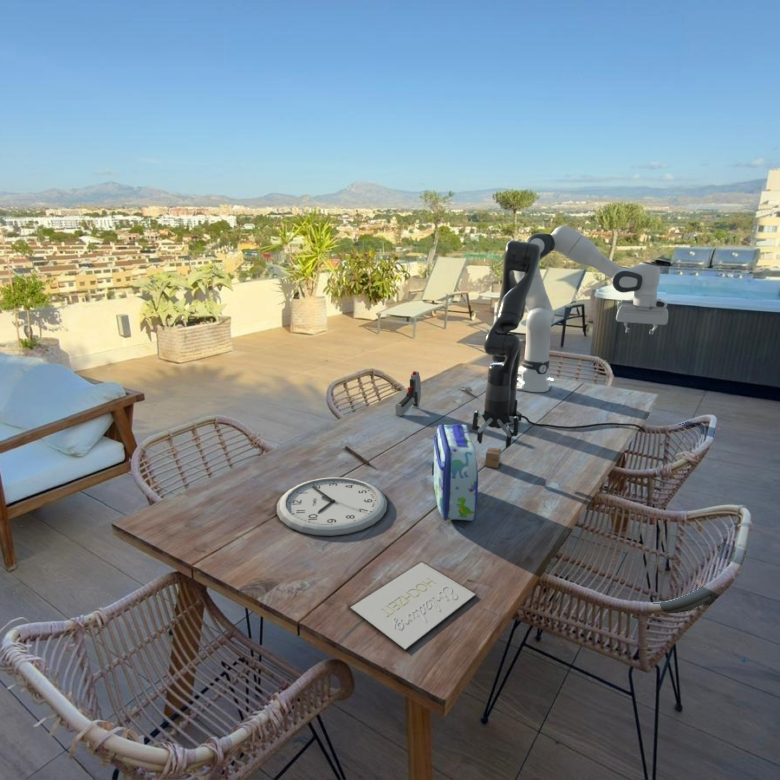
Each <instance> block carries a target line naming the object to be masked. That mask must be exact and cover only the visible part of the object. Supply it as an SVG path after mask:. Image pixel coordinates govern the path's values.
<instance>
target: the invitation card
mask: <svg viewBox="0 0 780 780" xmlns="http://www.w3.org/2000/svg"><path fill="white" fill-rule="evenodd" d="M475 596H476V593H474V591H471V590H469V589H468V588H466V587H464V586H463V585H461V584H459V583H458V582H456V581H454V580H453V579H451V578H449V577H448V576H446V575H444V574H442V573H441V572H439V571H438V570H436V569H434V568H432V567H430V566H429V565H427V564H426V563H424V562H419V563H417V564H416V565H414V566H413V567H412V568H410V569H408V570H407V571H405V572H404V573H402V574H400V575H399V576H397V577H396V578H394V579H392V580H391V581H390V582H388V583H386V584H385V585H383V586H382V587H380V588H378V589H377V590H375V591H373V592H372V593H370V594H369V595H367V596H366V597H364V598H363V599H361V600H359V601H358V602H356V603H355V604H354V605H352V606H350V609H351V610H352V611H353V612H355V613H356V614H357V615H358V616H360V617H361V618H363V619H364V620H365V621H367V622H368V623H369V624H371V625H372V626H373V627H374V628H376V629H377V630H379V631H380V632H381V633H382V634H383V635H385V636H386V637H388V638H389V639H390V640H391V641H393V642H394V643H395V644H397V645H398V646H399V647H401V648H402V649H403V650H405V651H406V650H407V649H408V648H409V647H412V645H413V644H415V643H416V642H418V640H420V639H421V638H422V637H424V636H425V635H427V633H429V632H430V631H431V630H432V629H434V628H435V627H436V626H438V625H439V624H440V623H442V622H443V621H444V620H446V618H448V617H449V616H450V615H452V614H453V613H454V612H456V611H457V610H458V609H459V608H461V607H462V606H463V605H465V604H466V603H467V602H468V601H470V600H471V599H472V598H473V597H475Z"/></svg>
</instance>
